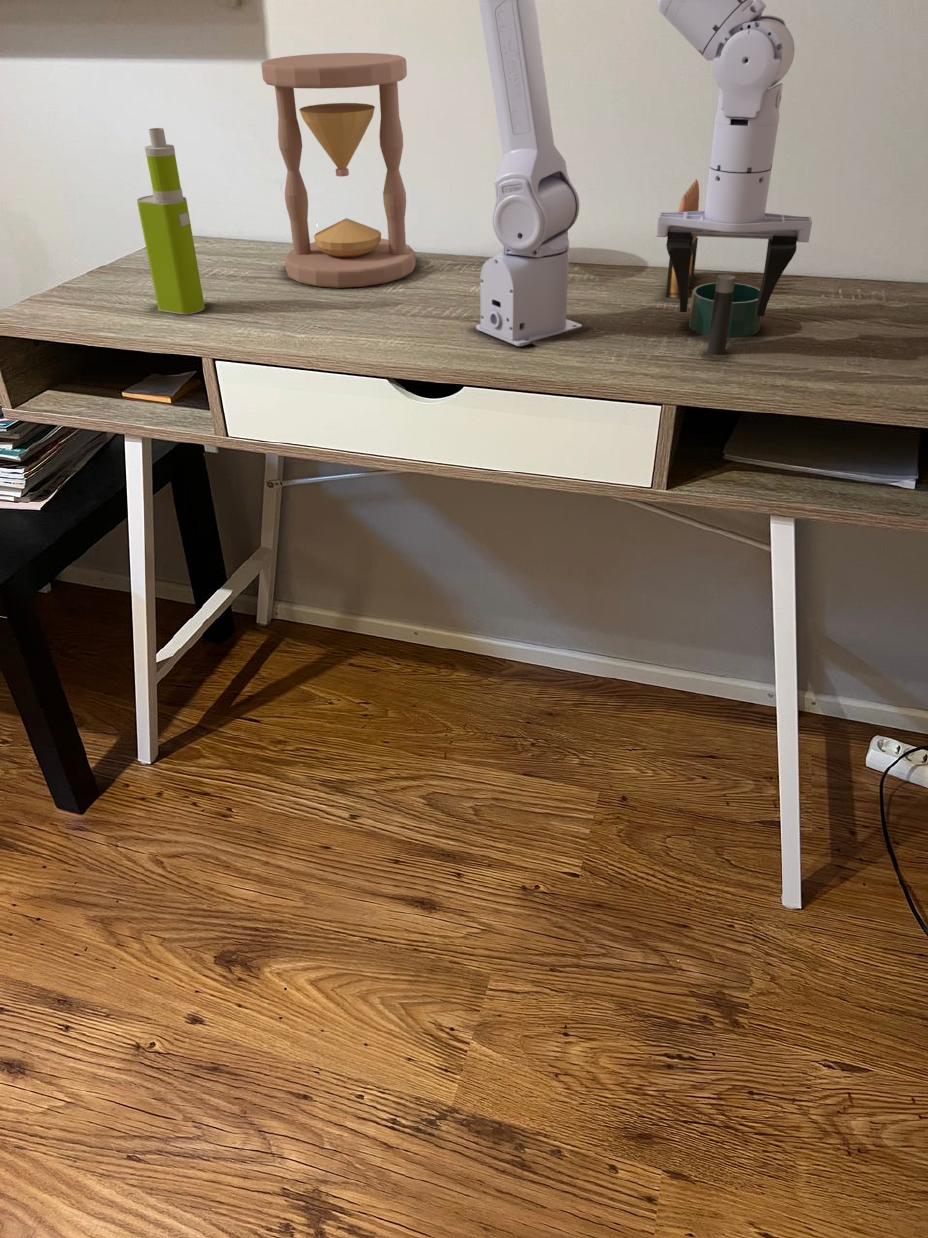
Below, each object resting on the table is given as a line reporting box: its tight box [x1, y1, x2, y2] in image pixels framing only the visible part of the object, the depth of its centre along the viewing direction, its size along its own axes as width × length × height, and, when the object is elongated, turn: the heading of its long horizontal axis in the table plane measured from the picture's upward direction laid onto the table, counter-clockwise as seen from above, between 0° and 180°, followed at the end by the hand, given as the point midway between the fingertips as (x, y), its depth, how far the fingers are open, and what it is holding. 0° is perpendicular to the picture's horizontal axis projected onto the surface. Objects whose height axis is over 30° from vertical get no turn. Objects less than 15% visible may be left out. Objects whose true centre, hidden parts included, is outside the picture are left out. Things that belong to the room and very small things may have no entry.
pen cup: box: [688, 282, 763, 339], centre depth 108 cm, size 8×8×4 cm
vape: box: [136, 127, 206, 315], centre depth 114 cm, size 4×6×20 cm, turn 64°
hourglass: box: [260, 52, 417, 289], centre depth 126 cm, size 18×18×25 cm
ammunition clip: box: [665, 179, 700, 299], centre depth 119 cm, size 11×2×12 cm, turn 160°
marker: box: [707, 273, 736, 356], centre depth 100 cm, size 2×2×8 cm
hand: (721, 311), depth 100 cm, fingers open, 7 cm apart
